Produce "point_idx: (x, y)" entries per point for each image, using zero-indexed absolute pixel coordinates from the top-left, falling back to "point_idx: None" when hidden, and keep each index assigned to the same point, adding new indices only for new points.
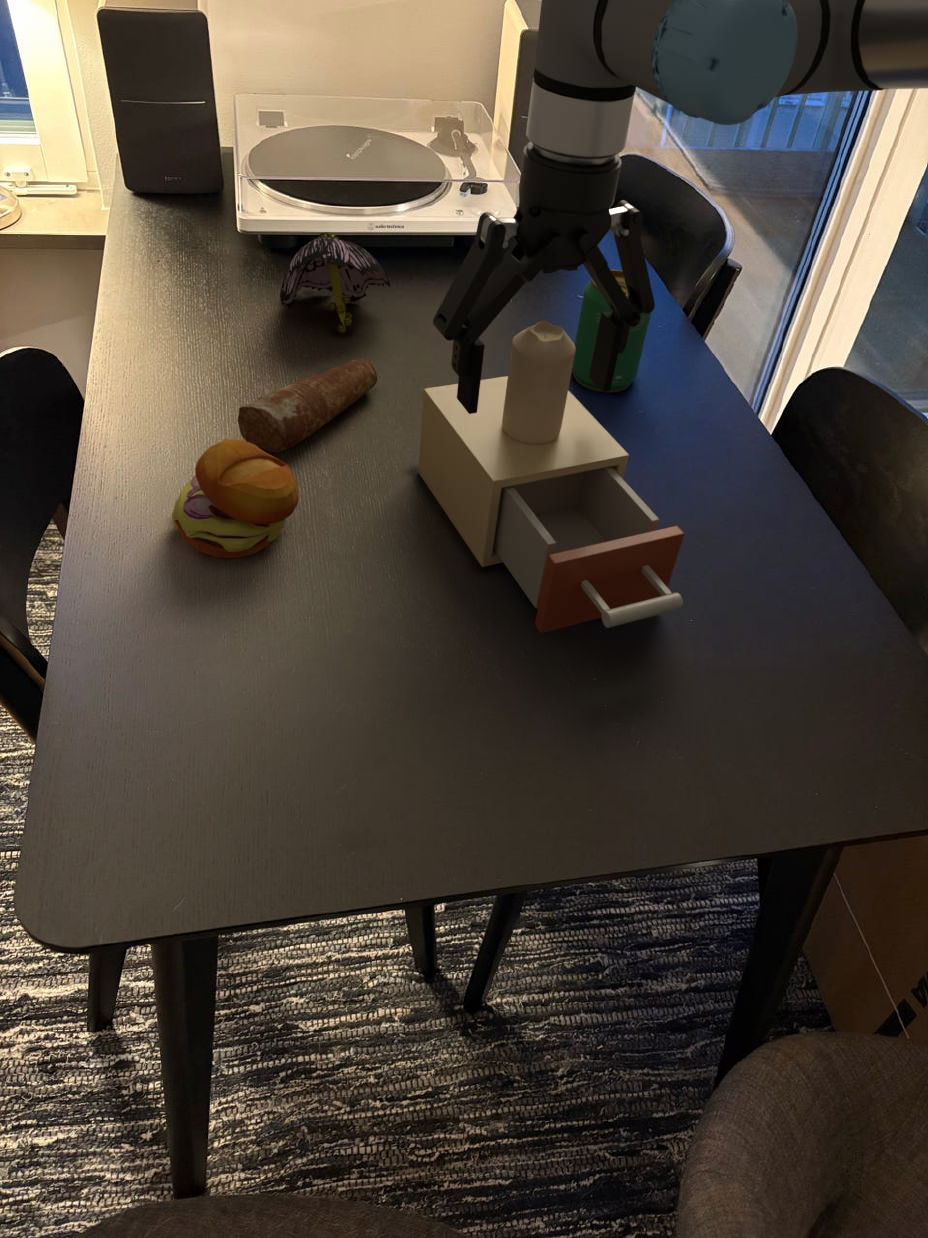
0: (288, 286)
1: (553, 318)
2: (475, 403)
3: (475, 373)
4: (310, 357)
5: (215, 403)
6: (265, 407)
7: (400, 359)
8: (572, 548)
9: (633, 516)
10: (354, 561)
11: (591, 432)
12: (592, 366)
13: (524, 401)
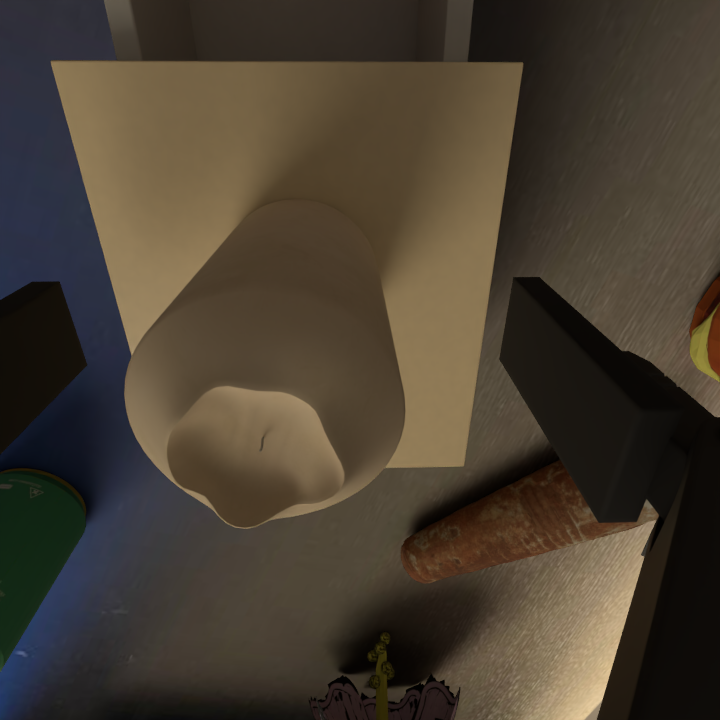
0: (455, 709)
1: (78, 622)
2: (534, 288)
3: (597, 338)
4: (445, 600)
5: (603, 546)
6: (647, 506)
7: (334, 581)
8: (278, 6)
9: None
10: (647, 177)
11: (139, 212)
12: (62, 379)
13: (367, 265)
